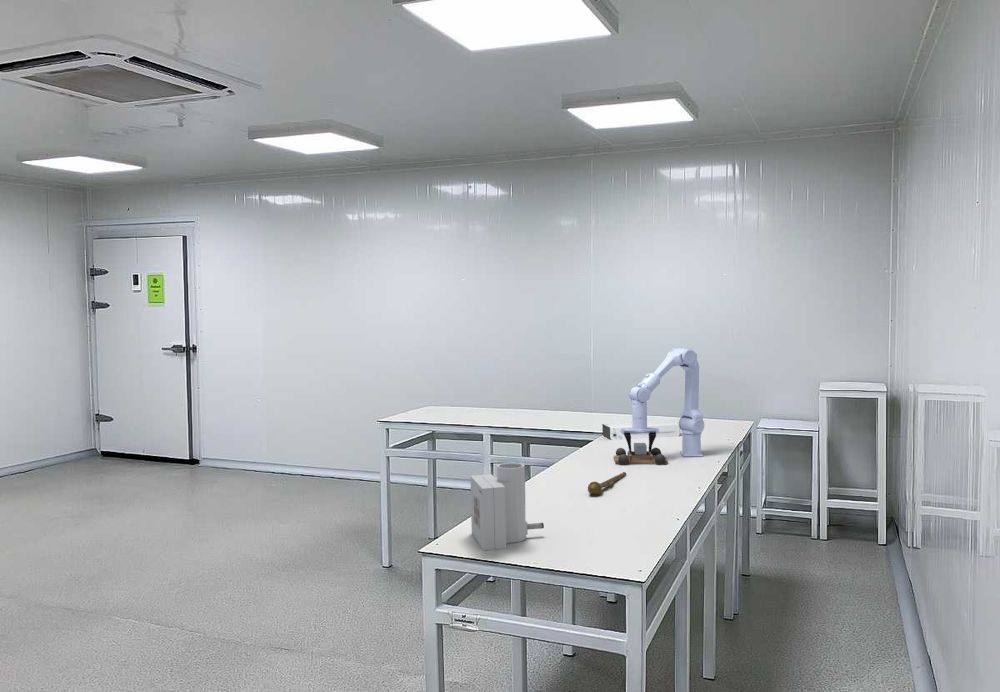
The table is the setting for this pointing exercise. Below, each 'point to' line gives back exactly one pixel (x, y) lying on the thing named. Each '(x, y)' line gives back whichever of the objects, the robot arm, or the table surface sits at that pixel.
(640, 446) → the block
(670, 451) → the table surface
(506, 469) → the box with tube attached
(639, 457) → the chassis
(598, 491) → the ball-headed bronze rod
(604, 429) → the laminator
